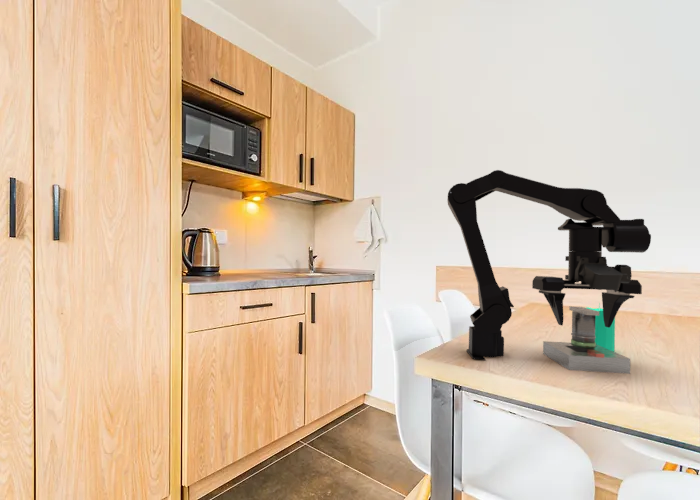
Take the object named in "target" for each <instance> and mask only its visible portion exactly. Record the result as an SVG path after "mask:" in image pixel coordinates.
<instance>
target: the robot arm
mask: <svg viewBox="0 0 700 500" xmlns="http://www.w3.org/2000/svg"><path fill="white" fill-rule="evenodd" d="M494 192H499V193H503V194H506V195H510V196H513V197H516V198H519V199H524V200H527V201H531V202H534V203H537V204H540V205H544V206H548V207H550V208H552V209H553V210H555V211H556V212H558V213H559V214H561V215H563V216H565V217H568V219H565V221H564V222H563V223H562V224H561V225H559V226H558V227H557V230H558V231H568V255H566V256H565V262H568V272H567V273H568V274H565V276H564V278H565V279H563V277H559V276H549V275H548V276H544V275H542V276H541V275H536V276H534V278H533V279H532V281H531V282H532V284H531V286H532V289H534V290H537V291H538V293H539V294H543V296H544V298H545V299H546V301H547V302H548V304H549V306H550V308H551V311H552V313H553V315H554V318H555V319H556V322H557V325H558V326H563V325H564V299H565V296H566V292H562V290H563V289H571V290H572V289H575V290H598V291H600V290H601V291H603V290H604V291H605V292H604V291H603V292H601V301H602V309H603V318H604V324H605V327H608V328H610V327H611V324H612V322H613V320H614V318H615V319H616V315H617V314H618V311H619V310H620V308H621V306H622V305H623V304H624V303H625V302H626V301H628V300H630V299H634V298H635V295H642V293H643V292H642V291H643V290H642V289H643V286H642V284H641V283H640V281H639V280H638V279H632V276H633V275H632V267H631V266H630V265H627V264H615V265H614V266H609V265H608V262H607V257H606V256H602V254H603V253H602V250H603V248H605V249H606V251H608V252H609V253H641V254H642V253H646V252H647V251H648V249H649V247H650V245H651V241H652V235H651V234H650V231H649V229H648V227H647V226H646V225H645V219H644V218H636V219H635V218H634V219H621V218H620V217H619V216H618V214H616V212H615V211H613V209H612V208H611V207H610V206H609V205H608V202H607V199H606V197H605V194H604V193H603V192H601V191H599V190H596V189H590V188H589V189H587V188H578V187H559V186H554V185H552V184H548V183H544V182H541V181H537V180H533V179H531V178H525V177H523V176H518V175H514V174H510V173H507V172H505V171H503V170H500V169H496V170H493V171H492V172H490V173H488V174H485V175H483V176H480V177H478V178H475V179H473V180H471V181H469V182H467V183H462V182H460V183H456V184H455V185H452V186H451V187H450V189H449V190H448V193H447V201H446V202H447V205H448V208H449V209H450V212H451V213H452V215H453V217H454V219H455V221H456V222H457V224H458V226H459V227H460V230H461V234H462V236H463V240H464V243H465V247H466V250H467V253H468V256H469V259H470V263H471V266H472V269H473V270H472V271H473V273H474V276H475V279H476V282H477V292H478V294H477V295H478V302H479V303H478V304H479V308H478V309H476V310H474V312H473V313H471V314H470V315H469V317H470V320H471V323H472V325H473V326H471V325H470V326H468V328H469V329H468V348H467V349H466V352H467V353H468V355H469V356H470V357H471V359H473V360H483V361H484V360H485V361H486V360H487V359H486V358H497V357H503V356H504V355H505V338H504V337H503V334H502V332H503V331H502V327H503V325H504V324H506V323H508V322H509V320H510V319H511V317H512V311H513V310H512V308H514V306H515V305H514V304H513V303H512V302H511V301H512V300H511V299H510V293H509V288H508V287H505V286H501V287H500V286H499V284H498V283H497V280H496V278H495V274H494V271H493V268H492V265H491V261H490V259H489V255H488V252H487V248H486V245H485V243H484V239H483V236H482V233H481V230H480V226H479V223H478V215H477V214H478V213H477V211H478V210H477V202H478V201H479V200H482V198H485V197H486V196H489V195H490V194H493V193H494ZM581 221H582V222H581ZM579 282H580V283H579Z"/></svg>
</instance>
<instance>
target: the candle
mask: <svg viewBox="0 0 700 500" xmlns="http://www.w3.org/2000/svg"><path fill="white" fill-rule="evenodd" d="M600 306H601V303H600V302H598V308H597V307H596V308H593V307H587V306H586V307H585V308H588V309H591V310H595V311H599V316H598V315H595V336H596V338H595V342H596V344H597V345H599V346H601V347H604V348H606V349H608V350H611V351H613V352H615V351H616V350H615V348H616V347H615V341H616V340H615V337H616V332H615V331H616V317H615V318H614V320H613V322H612V324H611V327H610V328H608V327H605V324H604V318H603V307H602V308H601V307H600ZM615 353H616V352H615Z"/></svg>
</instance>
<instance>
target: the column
mask: <svg viewBox="0 0 700 500" xmlns="http://www.w3.org/2000/svg"><path fill="white" fill-rule="evenodd" d="M568 308H569V309H568V310H569V311H571V315H572V316H571V333H570V335H571V339H570V343H571V345H573V346H575V347H579V348H586V349H594V348H596V342H595V338H596V336H595V315H598V316H599V311H595V310H591V309H588V308H589V307H588V308H586V307H583V306H571V305H570V306H569V307H568Z"/></svg>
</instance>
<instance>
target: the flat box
mask: <svg viewBox="0 0 700 500" xmlns="http://www.w3.org/2000/svg"><path fill="white" fill-rule="evenodd" d="M542 343H543V344H542V348H543V349H542V355H544V356H546V357H547V358H549V359H550V360H552V361H553V362H555V363H557V364H559V365H560V366H562V367H563V368H565V369H567V370H568V371H578V372H579V371H581V372H595V373H598V372H599V373H612V374H629V375H631V358H629V357H627V356H624V355H623V354H620V353H618V352H613V351H611V350H608V349H606V348H604V347H601V346H599V345H597V344H596V348H594V349H586V348H579V347H575V346H573V345H571V342H565V341H564V342H562V341H548V340H547V341H546V340H545V341H542Z"/></svg>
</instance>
